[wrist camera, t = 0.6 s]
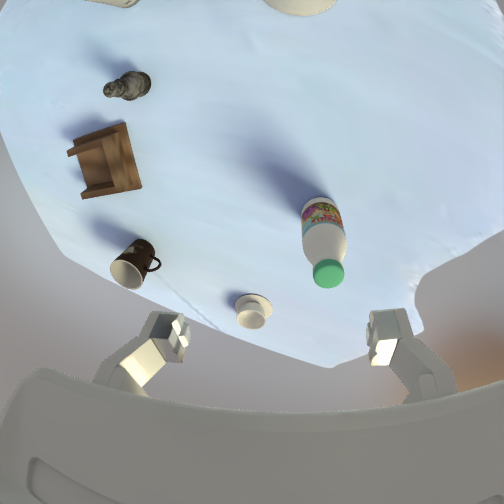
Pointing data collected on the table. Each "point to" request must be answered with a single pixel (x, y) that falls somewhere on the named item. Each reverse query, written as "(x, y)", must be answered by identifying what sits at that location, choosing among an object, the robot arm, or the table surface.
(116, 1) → the travel mug
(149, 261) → the coffee mug
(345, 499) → the robot arm
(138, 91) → the grey chess piece
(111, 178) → the u-rest
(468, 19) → the table surface
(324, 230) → the milk bottle
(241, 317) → the teacup
